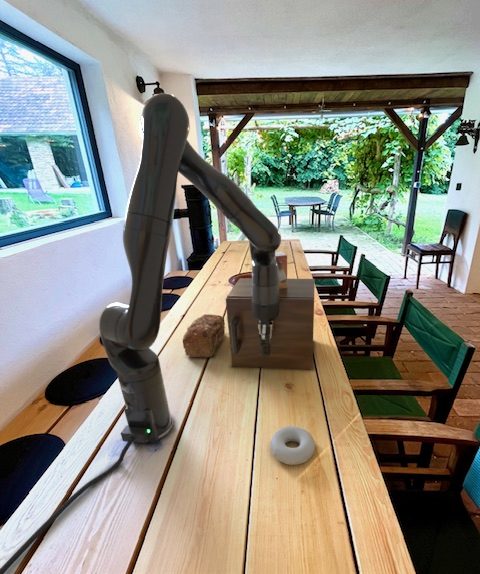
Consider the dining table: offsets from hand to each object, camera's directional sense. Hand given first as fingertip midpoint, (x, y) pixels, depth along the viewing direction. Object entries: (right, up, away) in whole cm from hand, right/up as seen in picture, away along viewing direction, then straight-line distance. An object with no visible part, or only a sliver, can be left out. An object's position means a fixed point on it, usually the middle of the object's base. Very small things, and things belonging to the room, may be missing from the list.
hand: (266, 354), depth 94 cm
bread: (-22, +1, +25) cm, 33 cm away
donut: (+6, -19, -21) cm, 29 cm away
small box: (+2, +20, +9) cm, 22 cm away
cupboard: (+3, -1, +19) cm, 19 cm away
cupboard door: (+1, -6, +7) cm, 10 cm away
